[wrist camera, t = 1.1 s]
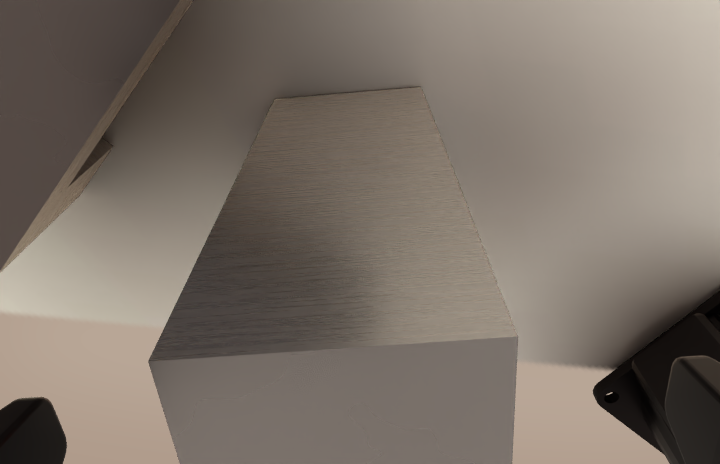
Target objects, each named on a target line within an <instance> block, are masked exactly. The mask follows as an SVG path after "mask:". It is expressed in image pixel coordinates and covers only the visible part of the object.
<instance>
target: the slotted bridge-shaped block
mask: <svg viewBox="0 0 720 464" xmlns="http://www.w3.org/2000/svg"><path fill="white" fill-rule="evenodd" d="M193 1H194V0H0V272H1V271H2V270H3V269H5V268H6V267H7V266H8V265H9V264H10V263H11V262H12V261H13V260H14V259H15V258H16V257H17V256H18V255H19V254H20V253H21V252H22V251H23V250H24V249H25V248H26V247H27V246H28V245H29V244H30V243H31V242H32V241H33V240H34V239H35V238H36V237H37V236H39V235H40V234H41V233H42V232H43V231H44V230H45V229H46V228H47V227H48V226H49V225H50V224H51V223H52V222H53V221H54V220H55V219H56V218H57V217H58V216H59V215H60V214H61V213H62V212H63V211H64V210H65V209H66V208H67V207H68V206H69V205H70V204H71V203H73V202H74V201H75V200H76V199H77V198H78V197H79V196H80V194H81V193H82V191H83V190H84V188H85V187H86V186H87V184H88V183H89V181H90V180H91V178H92V177H93V175H94V174H95V172H96V171H97V170H98V168H99V167H100V165H101V164H102V162H103V161H104V159H105V158H106V156H107V155H108V154H109V152H110V151H111V149H112V148H113V145H111V144H110V143H108V142H107V141H106V140H104V139H103V138H101V137H102V136H103V134H104V133H105V131H106V130H107V128H108V127H109V125H110V124H111V122H112V121H113V120H114V118H115V117H116V115H117V114H118V112H119V111H120V109H121V108H122V106H123V105H124V103H125V102H126V100H127V99H128V97H129V96H130V94H131V93H132V91H133V90H134V88H135V87H136V85H137V84H138V82H139V81H140V79H141V78H142V76H143V75H144V73H145V72H146V71H147V69H148V68H149V66H150V65H151V63H152V62H153V60H154V59H155V57H156V56H157V54H158V53H159V51H160V50H161V48H162V47H163V45H164V44H165V42H166V41H167V39H168V38H169V36H170V35H171V33H172V32H173V30H174V29H175V27H176V26H177V25H178V23H179V22H180V20H181V19H182V17H183V16H184V14H185V13H186V11H187V10H188V8H189V7H190V5H191V4H192V2H193Z"/></svg>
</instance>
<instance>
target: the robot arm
mask: <svg viewBox="0 0 720 464" xmlns="http://www.w3.org/2000/svg"><path fill="white" fill-rule="evenodd" d="M610 392H613V393H612V394H610V395H606V394H608V393H610ZM593 394H594V397H595V399H596V401H597V403H598V404H599V405H600V406H601V407H602V408H603V409H605V410H606V411H607V412H609V413H610V414H611V415H613V416H614V417H615V418H617V419H618V420H619V421H621V422H622V423H623V424H625V425H626V426H627V427H629V428H630V429H631V430H632V431H634V432H635V433H636V434H638V435H639V436H640V437H642V438H643V439H644V440H646V441H647V442H648V443H650V444H651V445H652V446H654V447H655V448H656V449H658V450H659V451H660V452H662V453H663V454H664V455H665V456H666V458H667V460H668V461H669V463H670V464H720V291H719V292H718V293H716V294H715V295H714V296H712V297H711V298H710V299H708V300H707V301H706V302H704V303H703V304H702V305H700V306H699V307H698V308H696V309H695V310H694V311H693V312H691V313H690V314H689V315H687V316H686V317H685V318H683V319H682V320H681V321H679V322H678V323H677V324H675V325H674V326H673V327H671V328H670V329H669V330H667V331H666V332H665V333H663V334H662V335H661V336H659V337H658V338H657V339H655V340H654V341H653V342H651V343H650V344H649V345H647V346H646V347H645V348H643V349H642V350H641V351H639V352H638V353H637V354H635V355H634V356H633V357H632V358H630V359H629V360H628V361H626V362H625V363H624V364H622V365H621V366H620V367H618V368H617V369H616V370H614V371H613V372H612V373H610V374H609V375H608V376H606V377H605V378H604V379H602V380H601V381H600V382H598V383H597V384H596V385H595V387H594V389H593ZM66 448H67V442H66V437H65V434H64V432H63V429H62V427H61V424H60V422H59V420H58V417H57V415H56V412H55V410H54V408H53V405H52V403H51V402H50V401H49V400H48V399H47V398H44V397H34V398H21V399H17V400H15V401H13V402H11V403H10V404H8V405H7V406H5V407H4V408H2V409H1V410H0V464H63V461H64V458H65V454H66Z"/></svg>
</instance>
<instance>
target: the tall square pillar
mask: <svg viewBox="0 0 720 464" xmlns="http://www.w3.org/2000/svg"><path fill="white" fill-rule="evenodd" d="M517 346H518V335H517V333H516V330H515V327H514V325H513V322H512V320H511V317H510V315H509V312H508V309H507V307H506V304H505V302H504V299H503V296H502V294H501V291H500V289H499V286H498V284H497V281H496V278H495V276H494V273H493V271H492V268H491V266H490V263H489V260H488V258H487V255H486V253H485V250H484V248H483V245H482V242H481V240H480V237H479V235H478V232H477V229H476V227H475V224H474V222H473V219H472V217H471V214H470V211H469V209H468V206H467V204H466V201H465V199H464V196H463V193H462V191H461V188H460V186H459V183H458V180H457V178H456V175H455V173H454V170H453V168H452V165H451V162H450V160H449V157H448V155H447V152H446V150H445V147H444V144H443V142H442V139H441V137H440V134H439V131H438V129H437V126H436V124H435V121H434V119H433V116H432V113H431V111H430V108H429V106H428V103H427V101H426V98H425V95H424V93H423V90H422V88H421V87H413V88H401V89H389V90H377V91H365V92H353V93H341V94H330V95H318V96H306V97H294V98H282V99H274V101H273V103H272V105H271V107H270V109H269V112H268V114H267V116H266V118H265V120H264V122H263V124H262V126H261V128H260V130H259V132H258V134H257V136H256V139H255V141H254V143H253V145H252V147H251V149H250V151H249V153H248V155H247V157H246V159H245V161H244V163H243V166H242V168H241V170H240V172H239V174H238V176H237V178H236V180H235V182H234V184H233V186H232V188H231V191H230V193H229V195H228V197H227V199H226V201H225V203H224V205H223V207H222V209H221V211H220V213H219V215H218V218H217V220H216V222H215V224H214V226H213V228H212V230H211V232H210V234H209V236H208V238H207V240H206V243H205V245H204V247H203V249H202V251H201V253H200V255H199V257H198V259H197V261H196V263H195V265H194V267H193V270H192V272H191V274H190V276H189V278H188V280H187V282H186V284H185V286H184V288H183V290H182V292H181V295H180V297H179V299H178V301H177V303H176V305H175V307H174V309H173V311H172V313H171V315H170V317H169V319H168V322H167V324H166V326H165V328H164V330H163V332H162V334H161V336H160V338H159V340H158V342H157V344H156V347H155V349H154V351H153V353H152V355H151V357H150V359H149V366H150V369H151V372H152V375H153V378H154V382H155V385H156V388H157V391H158V395H159V398H160V401H161V404H162V407H163V411H164V414H165V417H166V420H167V424H168V427H169V430H170V433H171V436H172V440H173V442H174V446H175V449H176V452H177V456H178V459H179V462H180V464H512V453H513V432H514V431H513V430H514V409H515V388H516V368H517Z"/></svg>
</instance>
